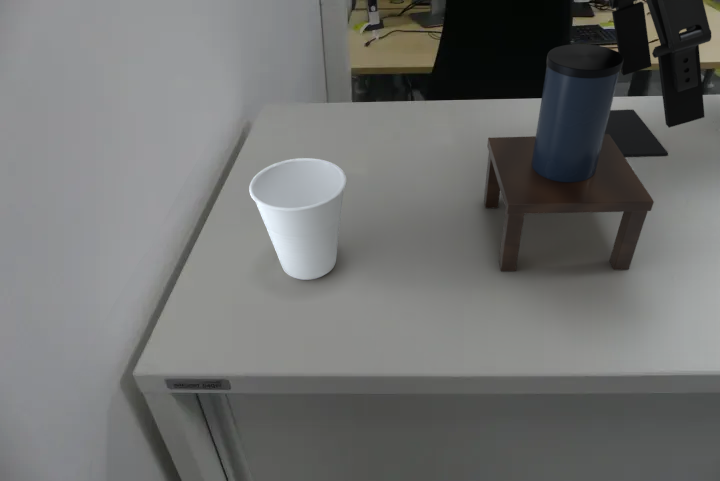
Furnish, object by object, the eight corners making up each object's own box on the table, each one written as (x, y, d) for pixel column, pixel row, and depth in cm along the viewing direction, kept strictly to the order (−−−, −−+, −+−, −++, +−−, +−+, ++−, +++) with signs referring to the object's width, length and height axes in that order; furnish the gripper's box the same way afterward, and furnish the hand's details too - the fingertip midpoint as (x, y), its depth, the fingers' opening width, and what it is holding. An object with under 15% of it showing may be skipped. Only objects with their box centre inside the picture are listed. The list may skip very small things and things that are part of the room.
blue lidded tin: (586, 149, 63) (610, 42, 55) (605, 182, 58) (634, 68, 50) (524, 151, 63) (540, 45, 56) (537, 184, 58) (557, 71, 51)
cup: (250, 285, 61) (231, 202, 55) (286, 232, 69) (273, 153, 62) (336, 301, 59) (327, 215, 52) (363, 243, 66) (358, 162, 59)
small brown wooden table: (593, 197, 71) (609, 133, 65) (631, 270, 60) (654, 201, 54) (481, 200, 72) (488, 137, 66) (499, 272, 61) (508, 204, 55)
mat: (632, 111, 89) (633, 109, 89) (667, 155, 78) (668, 153, 78) (543, 114, 90) (543, 112, 90) (565, 158, 79) (565, 155, 79)
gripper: (546, -145, 53) (586, 65, 64) (617, -145, 33) (658, 164, 43) (630, -183, 51) (657, 41, 61) (763, -208, 31) (769, 134, 41)
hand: (658, 93), depth 52 cm, fingers open, 13 cm apart
